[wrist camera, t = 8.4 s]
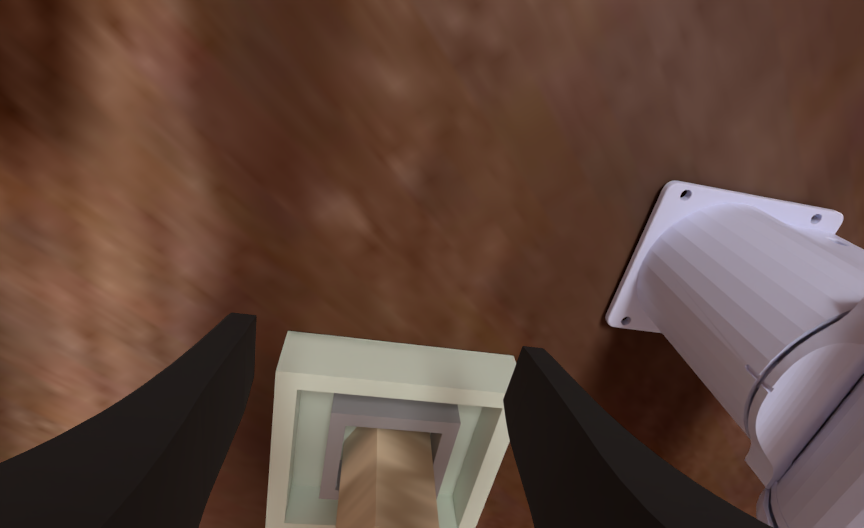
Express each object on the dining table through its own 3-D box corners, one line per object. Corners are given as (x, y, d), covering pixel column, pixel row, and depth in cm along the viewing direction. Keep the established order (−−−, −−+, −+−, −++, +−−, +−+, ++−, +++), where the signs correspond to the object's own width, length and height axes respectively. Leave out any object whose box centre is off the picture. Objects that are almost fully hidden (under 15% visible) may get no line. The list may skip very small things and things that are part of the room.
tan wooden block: (429, 427, 27) (441, 549, 21) (394, 462, 29) (396, 588, 22) (378, 403, 26) (375, 525, 20) (343, 441, 27) (331, 568, 21)
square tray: (513, 355, 26) (527, 395, 24) (462, 497, 32) (469, 541, 29) (287, 330, 24) (275, 370, 22) (275, 486, 30) (265, 533, 27)
